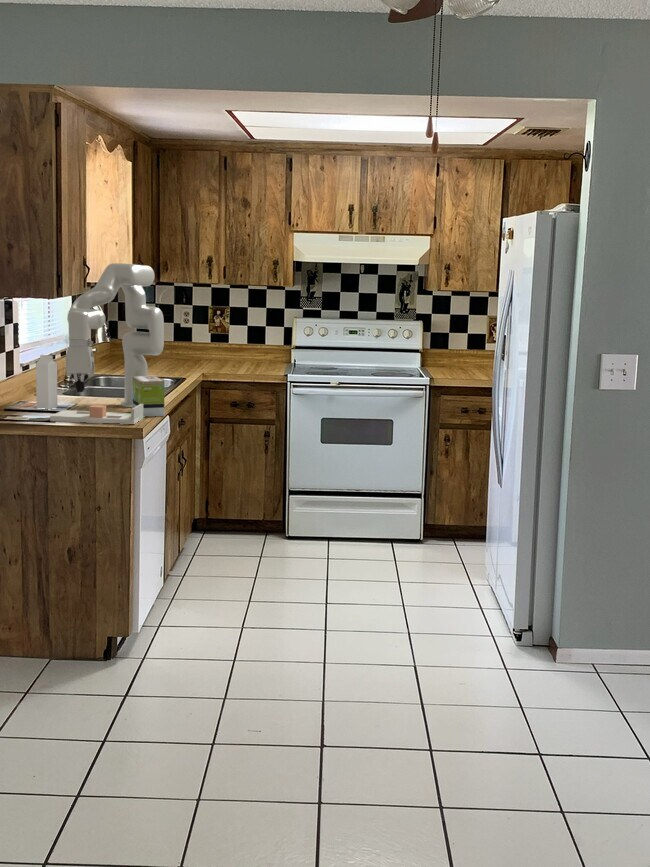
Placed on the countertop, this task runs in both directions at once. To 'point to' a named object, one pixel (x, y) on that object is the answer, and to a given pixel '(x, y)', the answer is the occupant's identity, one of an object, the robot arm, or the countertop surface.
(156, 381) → the tea box
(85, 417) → the board
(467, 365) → the countertop surface
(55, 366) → the milk
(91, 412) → the block
